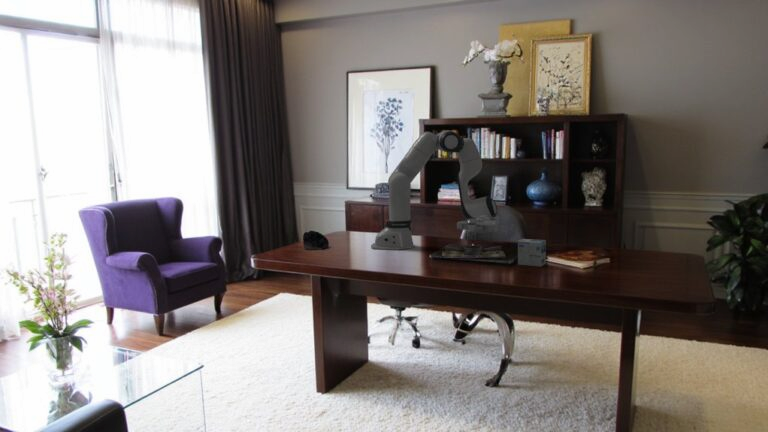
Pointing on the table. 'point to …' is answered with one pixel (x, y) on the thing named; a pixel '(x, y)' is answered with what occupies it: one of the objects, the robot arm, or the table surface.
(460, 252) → the shaft frame
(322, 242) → the crystal cluster
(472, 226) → the coupling sleeve
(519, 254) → the light bulb box
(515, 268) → the table surface
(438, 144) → the robot arm
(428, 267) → the table surface
